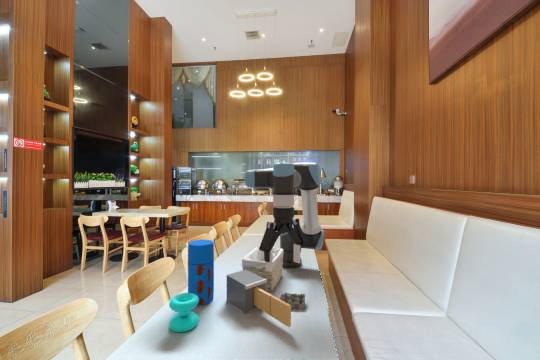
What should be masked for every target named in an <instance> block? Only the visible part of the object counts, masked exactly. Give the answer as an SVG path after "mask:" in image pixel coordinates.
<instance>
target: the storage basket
mask: <svg viewBox="0 0 540 360" xmlns="http://www.w3.org/2000/svg"><path fill="white" fill-rule="evenodd" d="M259 247H260V246H256V247H255V248H253V249H252V250H251V251H250V252H249V253H248V254H246V255H245V256H243V258H242V259H241V267H242V270H248V271H250V272H252V273H254V274H256V275H258V276H260V277H262V278H264V279H266V280H267V283H265V291H266V292H273V290H274V289H275V287H276V286H277V284H278V283H279V281H280V279H281V278H282V275H283V268H284V267H283V266H282V265H283V254H284V251H283V249H282V248H280V247H273V248H272V250H271V251H270V252H272V254H274V256H273V255H272V272H269V271H267V270H266V262H265V261H264V252H263V251H260V250H259Z"/></svg>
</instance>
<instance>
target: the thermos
mask: <svg viewBox="0 0 540 360" xmlns="http://www.w3.org/2000/svg"><path fill="white" fill-rule="evenodd" d="M214 243H215V242H214V241H213V240H212V239H195V240H191V241H189V242H188V243H187V293H193V294H195V295H197V296H198V299H199V302H198V304H197V306H198V307H200V306H206V305H208V304H210V303H211V302H213V300H214V295H215V294H214V293H215V260H214V259H215V254H214V253H215V244H214ZM197 306H196V307H197Z"/></svg>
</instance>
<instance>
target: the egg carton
mask: <svg viewBox="0 0 540 360" xmlns="http://www.w3.org/2000/svg"><path fill="white" fill-rule="evenodd" d="M279 299H281V300H282V301H284V302H286V303H288V304H290V305H291V309H294V308H298V309H299V310H302V309H305V304H306V293H301V294H299V293H298V294H297V293H289V292H288V291H287V292H283V293H281V295H280V298H279ZM292 301H293V302H292Z"/></svg>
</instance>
